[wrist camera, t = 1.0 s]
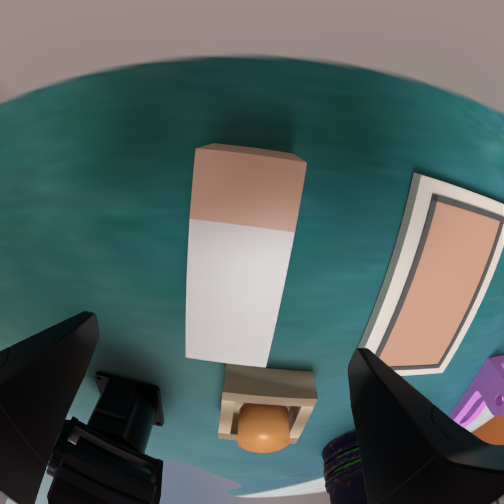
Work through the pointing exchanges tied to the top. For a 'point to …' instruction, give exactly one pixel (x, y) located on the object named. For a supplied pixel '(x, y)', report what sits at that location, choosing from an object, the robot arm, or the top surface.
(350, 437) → the storage jar
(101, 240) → the top surface
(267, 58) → the top surface
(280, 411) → the button
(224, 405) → the button block
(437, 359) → the picture board
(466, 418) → the bracket
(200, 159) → the two-tone rectangular block
